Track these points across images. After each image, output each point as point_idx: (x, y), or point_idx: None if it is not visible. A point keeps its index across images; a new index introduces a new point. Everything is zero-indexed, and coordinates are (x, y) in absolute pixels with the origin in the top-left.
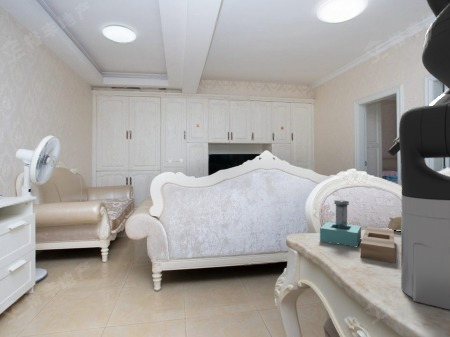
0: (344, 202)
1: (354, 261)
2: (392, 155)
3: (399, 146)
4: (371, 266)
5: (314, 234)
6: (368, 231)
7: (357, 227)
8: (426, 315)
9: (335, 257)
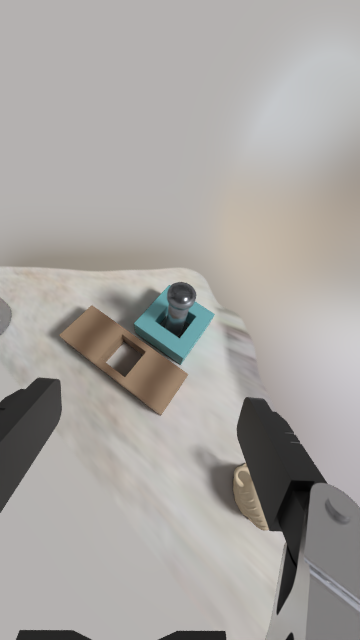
0: (167, 293)
1: (84, 299)
2: (239, 426)
3: (274, 502)
4: (64, 309)
5: (205, 304)
6: (153, 355)
7: (171, 344)
8: None
9: (101, 286)
